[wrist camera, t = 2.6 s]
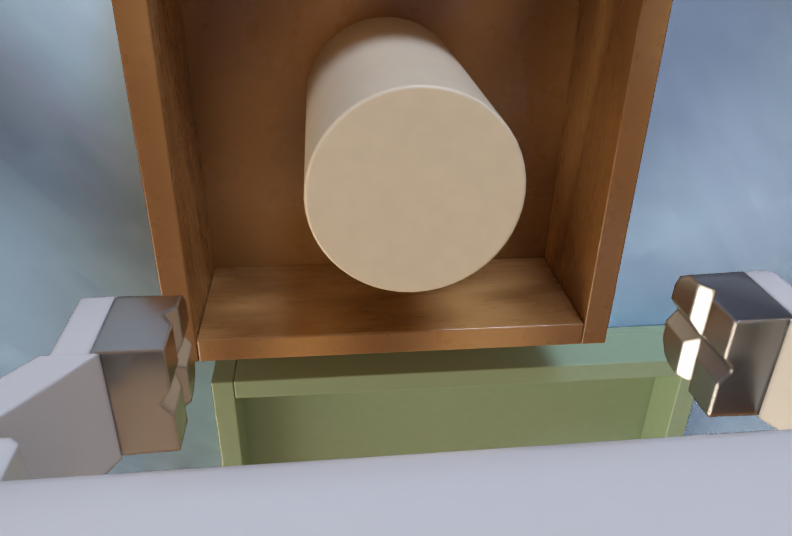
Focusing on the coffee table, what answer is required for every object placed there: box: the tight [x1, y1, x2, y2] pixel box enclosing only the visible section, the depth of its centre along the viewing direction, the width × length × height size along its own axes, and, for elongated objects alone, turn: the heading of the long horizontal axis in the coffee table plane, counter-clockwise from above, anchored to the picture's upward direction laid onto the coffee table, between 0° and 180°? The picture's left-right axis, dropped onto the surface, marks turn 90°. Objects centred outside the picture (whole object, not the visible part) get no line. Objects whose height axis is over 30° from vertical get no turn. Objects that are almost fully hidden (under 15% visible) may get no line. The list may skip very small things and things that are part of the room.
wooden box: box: [112, 0, 673, 362], centre depth 21 cm, size 14×14×5 cm
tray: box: [211, 325, 694, 467], centre depth 30 cm, size 19×14×2 cm
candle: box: [304, 17, 526, 292], centre depth 19 cm, size 5×5×8 cm
